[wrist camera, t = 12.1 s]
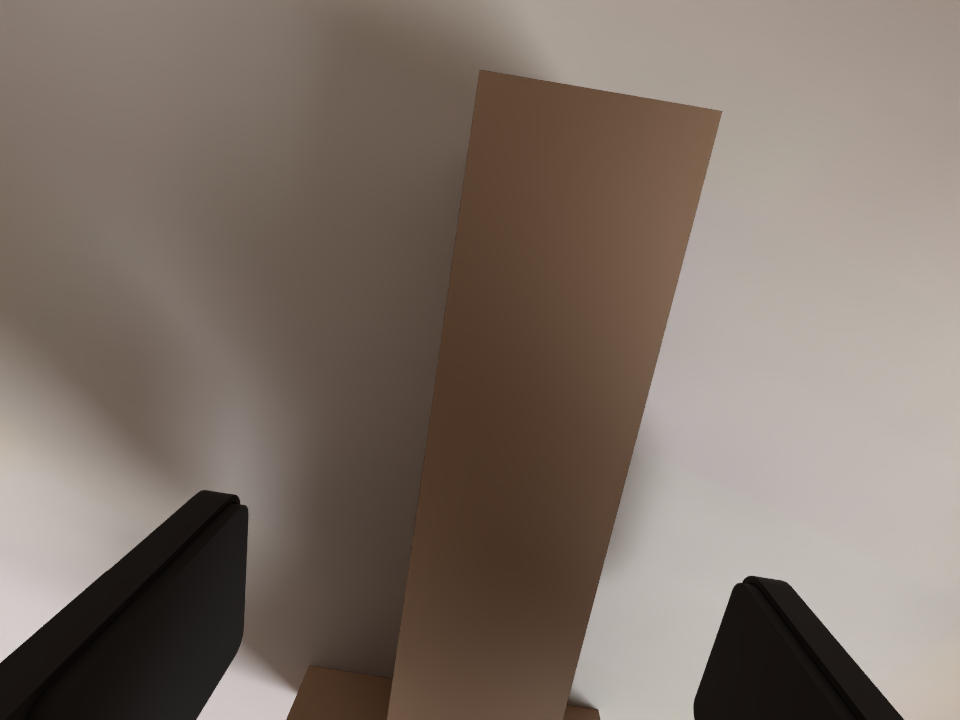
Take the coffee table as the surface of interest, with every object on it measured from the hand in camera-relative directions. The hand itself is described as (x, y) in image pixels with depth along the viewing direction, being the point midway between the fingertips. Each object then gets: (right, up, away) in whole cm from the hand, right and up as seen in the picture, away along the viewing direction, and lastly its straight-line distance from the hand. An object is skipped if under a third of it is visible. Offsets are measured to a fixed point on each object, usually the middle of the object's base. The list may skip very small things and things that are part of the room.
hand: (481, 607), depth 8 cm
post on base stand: (0, +2, +2) cm, 3 cm away
